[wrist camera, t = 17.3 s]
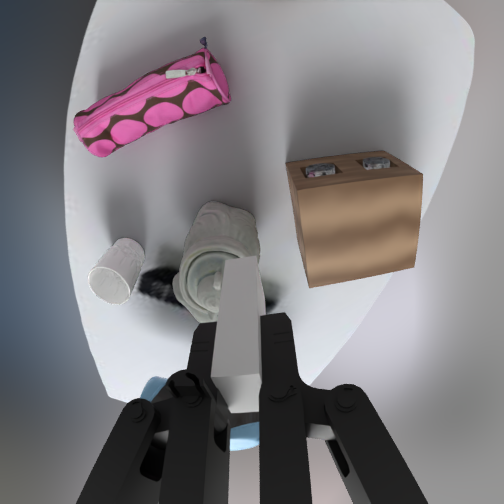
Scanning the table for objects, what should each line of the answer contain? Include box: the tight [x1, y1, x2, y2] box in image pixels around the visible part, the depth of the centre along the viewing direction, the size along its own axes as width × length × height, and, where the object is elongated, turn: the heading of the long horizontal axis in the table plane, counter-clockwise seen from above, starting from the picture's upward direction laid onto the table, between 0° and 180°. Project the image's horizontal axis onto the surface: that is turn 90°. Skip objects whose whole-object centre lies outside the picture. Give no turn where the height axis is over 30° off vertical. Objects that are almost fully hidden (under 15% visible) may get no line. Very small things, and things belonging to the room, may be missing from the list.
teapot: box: [173, 201, 260, 323], centre depth 39 cm, size 16×15×19 cm
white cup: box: [88, 238, 145, 305], centre depth 44 cm, size 8×8×10 cm
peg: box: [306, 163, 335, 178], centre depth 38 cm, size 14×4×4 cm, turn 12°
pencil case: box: [73, 37, 231, 157], centre depth 30 cm, size 21×10×10 cm, turn 110°
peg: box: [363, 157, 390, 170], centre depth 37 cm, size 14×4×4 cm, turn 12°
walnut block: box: [286, 151, 423, 288], centre depth 38 cm, size 14×16×12 cm
